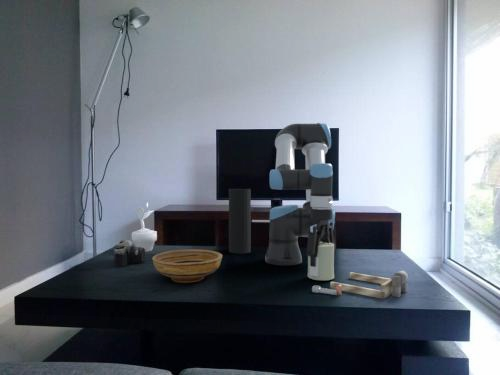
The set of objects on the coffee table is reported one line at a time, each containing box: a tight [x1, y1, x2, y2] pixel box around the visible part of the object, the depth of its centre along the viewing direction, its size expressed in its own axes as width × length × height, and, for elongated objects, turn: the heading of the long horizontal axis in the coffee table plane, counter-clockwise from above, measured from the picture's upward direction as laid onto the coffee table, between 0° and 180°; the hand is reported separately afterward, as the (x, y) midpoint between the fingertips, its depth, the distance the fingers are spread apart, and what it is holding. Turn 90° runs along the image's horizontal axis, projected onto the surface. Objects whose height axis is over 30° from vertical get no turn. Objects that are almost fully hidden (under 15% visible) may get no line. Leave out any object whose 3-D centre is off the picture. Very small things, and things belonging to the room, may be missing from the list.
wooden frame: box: [329, 270, 409, 300], centre depth 118 cm, size 21×16×7 cm
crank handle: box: [311, 284, 343, 296], centre depth 113 cm, size 9×2×3 cm, turn 62°
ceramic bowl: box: [151, 249, 223, 284], centre depth 130 cm, size 30×24×8 cm
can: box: [307, 241, 335, 281], centre depth 129 cm, size 9×9×12 cm
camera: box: [113, 239, 146, 269], centre depth 151 cm, size 16×10×10 cm, turn 2°
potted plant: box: [131, 201, 158, 253], centre depth 175 cm, size 13×12×25 cm
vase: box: [228, 188, 252, 255], centre depth 174 cm, size 10×10×30 cm
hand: (320, 272), depth 130 cm, fingers closed on can, 9 cm apart
